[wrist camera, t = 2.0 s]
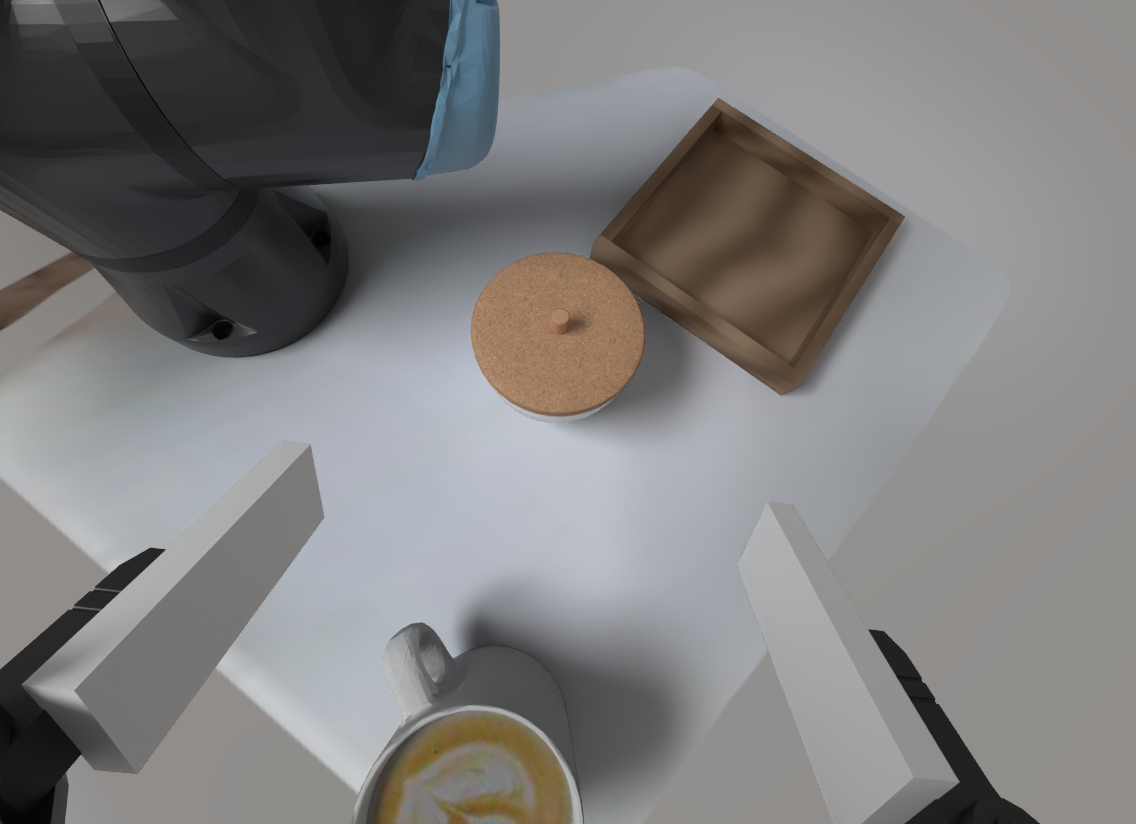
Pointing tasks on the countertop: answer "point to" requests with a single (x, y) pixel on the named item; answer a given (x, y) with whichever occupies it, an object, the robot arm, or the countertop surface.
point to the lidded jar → (557, 336)
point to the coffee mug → (471, 740)
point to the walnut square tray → (748, 245)
